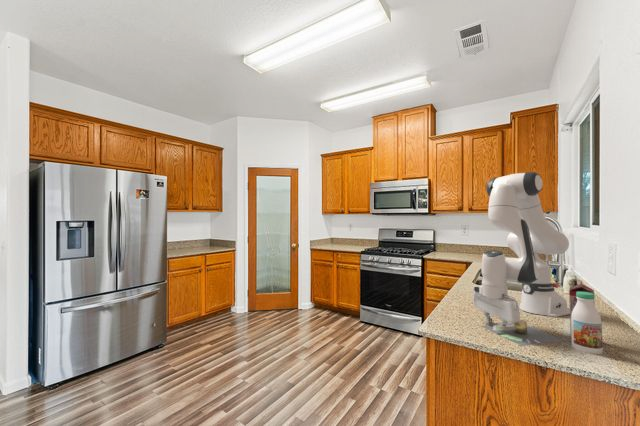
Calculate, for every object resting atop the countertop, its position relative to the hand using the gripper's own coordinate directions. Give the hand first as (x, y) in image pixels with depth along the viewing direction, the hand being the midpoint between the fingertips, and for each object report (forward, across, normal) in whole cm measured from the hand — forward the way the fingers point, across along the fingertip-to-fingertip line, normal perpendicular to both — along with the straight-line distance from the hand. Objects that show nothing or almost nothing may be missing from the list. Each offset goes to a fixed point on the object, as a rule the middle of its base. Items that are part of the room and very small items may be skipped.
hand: (495, 325), depth 116 cm
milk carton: (+3, -15, -24) cm, 28 cm away
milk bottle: (+2, -22, -16) cm, 27 cm away
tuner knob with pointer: (+1, -5, -2) cm, 6 cm away
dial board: (+2, -6, -6) cm, 9 cm away
